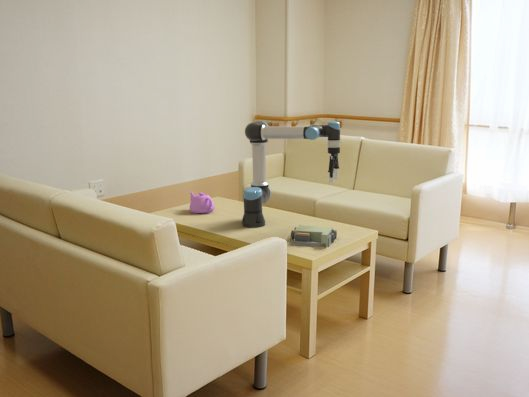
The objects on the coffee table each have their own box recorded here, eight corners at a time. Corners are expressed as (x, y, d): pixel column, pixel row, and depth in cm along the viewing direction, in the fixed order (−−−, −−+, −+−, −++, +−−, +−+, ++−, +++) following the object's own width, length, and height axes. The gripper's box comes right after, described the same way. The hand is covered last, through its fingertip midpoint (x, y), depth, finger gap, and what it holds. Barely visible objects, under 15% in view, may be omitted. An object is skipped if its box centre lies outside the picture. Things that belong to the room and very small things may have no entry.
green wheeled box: (286, 244, 313) (286, 232, 311) (296, 234, 332) (296, 223, 330) (329, 247, 305) (329, 235, 304) (336, 237, 324) (336, 225, 323)
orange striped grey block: (294, 243, 313) (294, 234, 312) (297, 240, 318) (297, 231, 317) (308, 244, 311) (308, 235, 310) (310, 241, 315) (310, 232, 314)
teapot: (222, 211, 395) (221, 192, 392) (202, 216, 383) (202, 196, 380) (199, 206, 412) (199, 188, 410) (180, 211, 400) (179, 192, 397)
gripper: (335, 149, 332) (335, 184, 336) (343, 144, 355) (343, 177, 359) (323, 149, 334) (323, 184, 338) (331, 144, 357) (331, 177, 361)
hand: (333, 180), depth 349 cm, fingers open, 13 cm apart
